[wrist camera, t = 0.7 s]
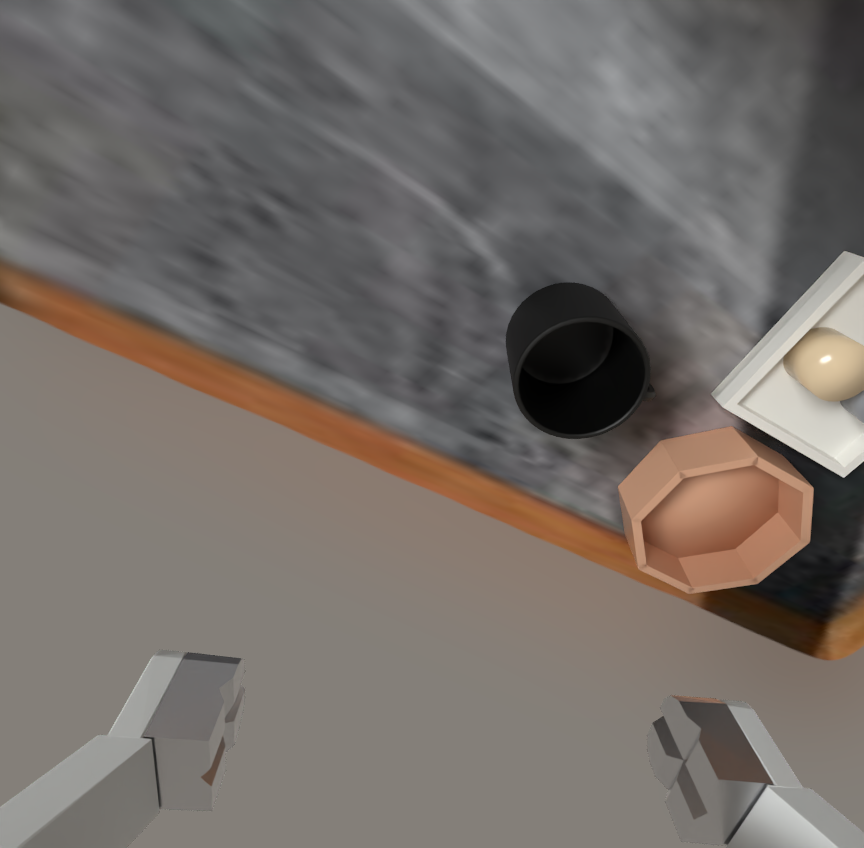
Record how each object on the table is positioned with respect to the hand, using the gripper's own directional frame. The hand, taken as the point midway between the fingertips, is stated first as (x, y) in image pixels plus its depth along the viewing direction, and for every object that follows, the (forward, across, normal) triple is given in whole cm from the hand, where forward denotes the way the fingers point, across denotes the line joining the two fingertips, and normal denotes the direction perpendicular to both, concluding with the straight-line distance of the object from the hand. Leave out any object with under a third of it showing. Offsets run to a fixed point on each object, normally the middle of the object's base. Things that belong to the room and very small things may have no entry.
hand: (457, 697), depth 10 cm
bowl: (+36, -29, +15) cm, 49 cm away
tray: (+35, -35, 0) cm, 49 cm away
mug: (+36, -13, +2) cm, 39 cm away
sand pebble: (+34, -32, -1) cm, 46 cm away
